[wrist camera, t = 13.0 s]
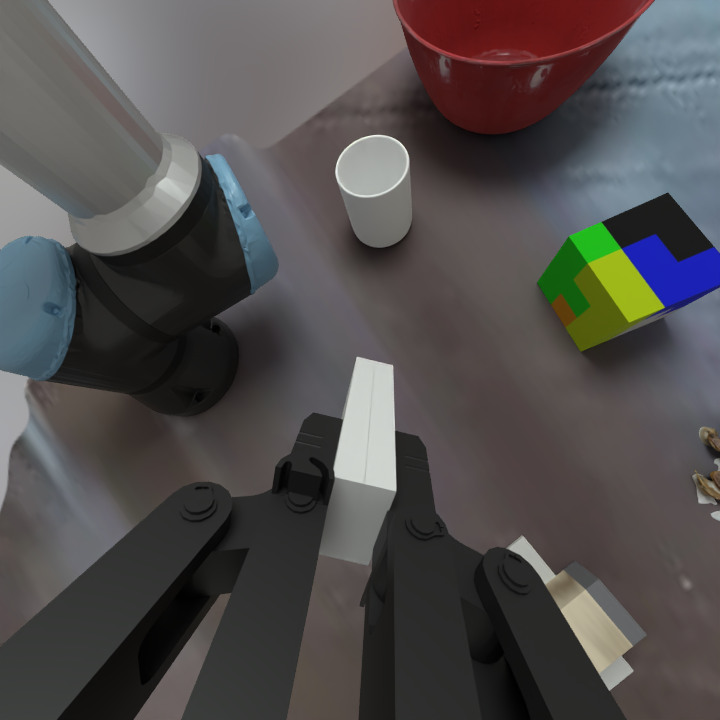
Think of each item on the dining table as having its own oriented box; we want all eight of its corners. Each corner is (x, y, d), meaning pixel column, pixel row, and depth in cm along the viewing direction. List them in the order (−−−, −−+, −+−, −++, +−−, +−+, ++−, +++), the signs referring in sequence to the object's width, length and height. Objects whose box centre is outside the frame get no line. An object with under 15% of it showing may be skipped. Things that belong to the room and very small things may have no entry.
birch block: (461, 785, 28) (646, 634, 28) (422, 721, 30) (598, 578, 30) (455, 736, 33) (615, 607, 33) (422, 683, 35) (574, 560, 35)
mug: (406, 174, 50) (402, 105, 40) (415, 244, 47) (413, 189, 37) (350, 185, 52) (332, 121, 42) (355, 254, 49) (336, 203, 38)
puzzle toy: (663, 317, 39) (739, 276, 30) (580, 351, 40) (628, 322, 31) (613, 249, 42) (668, 192, 33) (536, 282, 43) (568, 236, 33)
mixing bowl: (638, 136, 45) (740, -13, 31) (428, 203, 49) (430, 97, 34) (557, 1, 53) (608, -169, 38) (382, 66, 57) (367, -68, 42)
